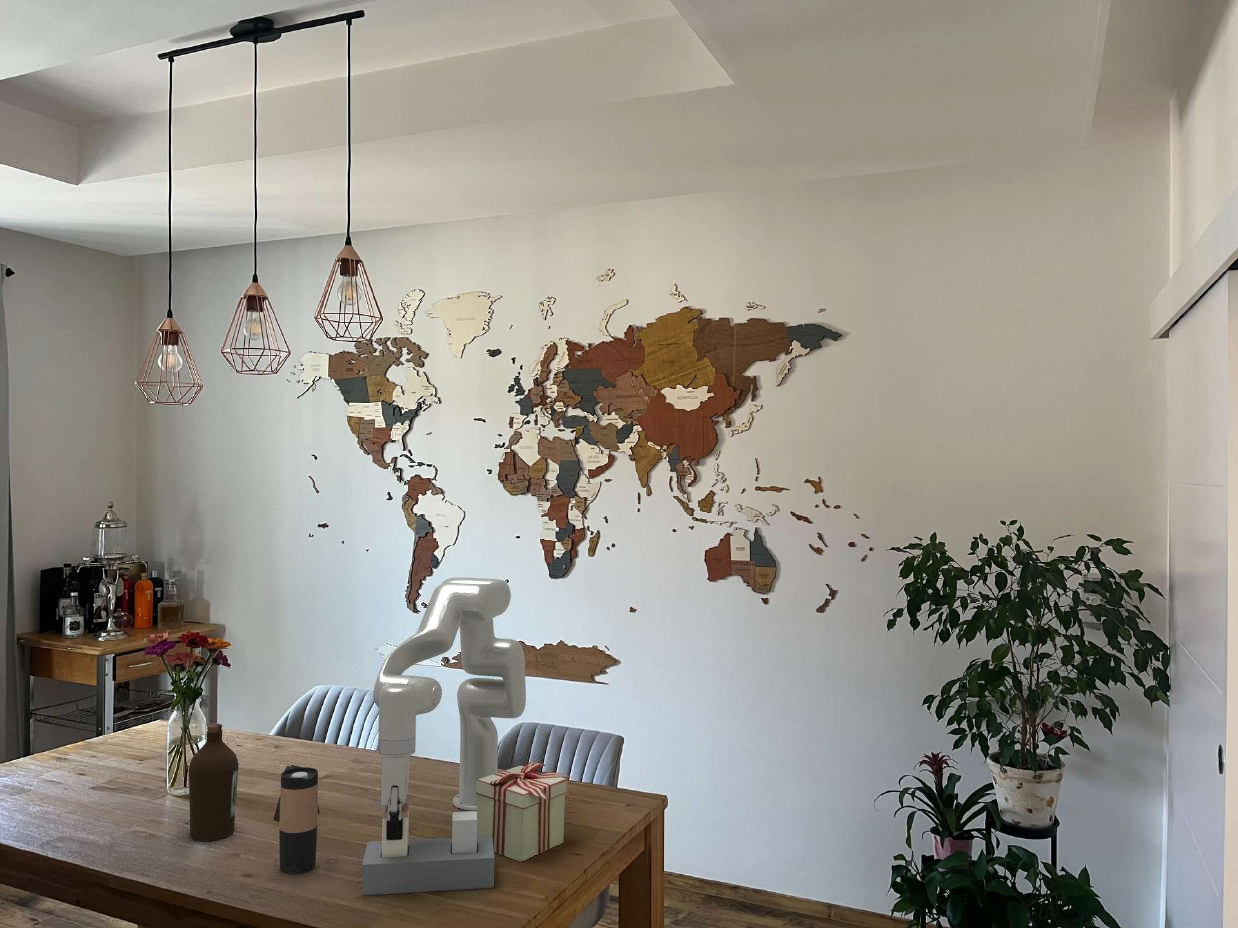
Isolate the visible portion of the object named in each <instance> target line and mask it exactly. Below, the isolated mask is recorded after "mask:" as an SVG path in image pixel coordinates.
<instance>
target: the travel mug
mask: <svg viewBox="0 0 1238 928" xmlns="http://www.w3.org/2000/svg"><path fill="white" fill-rule="evenodd" d="M279 794H280V795H279V797H280V821H279V827H278V828H279V829H278V831H279V870H280V872H282V873H283V874H287V875H300V874H304V873H308V872H310V871H312V870H314V869H315V867H316V860H317V859H316V858H317V841H318V839H317V837H318V818H319V817H318V816H319V814H318V807H319V804H318V803H319V800H318V799H319V798H318V796H319V771H318V769H316V768H314V767H309V766H308V767H307V766H303V767H302V766H299V768H292V769H288V770H286V771H285V770H283V772H281V774H280V793H279Z"/></svg>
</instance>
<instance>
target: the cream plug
mask: <svg viewBox="0 0 1238 928" xmlns="http://www.w3.org/2000/svg"><path fill="white" fill-rule="evenodd" d="M382 807H383V806H382ZM397 810H399V807H397ZM381 814H382V815H381V819H382V820H381V821H382V823H381V825H382V827H381V830H382V831H381V841H382V857H399V856H408V840H409V830H410V829H409V823H410V802H405V804H404V805H403V806H402V819H403V838H402V839H401V840H387V839H386V825H387V820H388V803H387V805H384V807H383V809H382V813H381Z"/></svg>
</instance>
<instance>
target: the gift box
mask: <svg viewBox="0 0 1238 928" xmlns="http://www.w3.org/2000/svg"><path fill="white" fill-rule="evenodd" d="M545 766H546V764H544V763H540V762H532V761H530V762H528V763H527V764H526V765H525V766H523V765H517V766H514V767H512V768H508V769H506V770H502V771H500V772H497V773H496V774H493V775H490V776H487V777H484V778H481V779H478V780H476V794H477V836H492V839H493V849H494V854H495V853H496V854H499V855H501V856H504V857H507V858H509V859H512V860H514V861H517V862H520V863H523V862H525V861H527V860H529V858H530V859H532V858H534V857H535V856H534V855H537V854H539V855H541V854H543V853H544V852H543V851H545V850H548V851H549V849H550V848H552V847H554V846H556V845H559V846H560V844H561V843H563V844H564V835H565V834H564V833H565V805H566V803H565V801H566V793H567V792H568V779H567V778H571V776H569V775H564V774H562V773H559V772H554V771H541V770H538V769H540V768H542V767H545ZM561 845H562V844H561ZM556 847H557V846H556ZM554 848H555V847H554ZM552 849H553V848H552ZM550 850H551V849H550ZM542 852H543V853H542ZM545 852H546V851H545ZM540 853H541V854H540ZM533 856H534V857H533ZM537 856H538V855H537ZM531 857H532V858H531ZM522 861H523V862H522Z"/></svg>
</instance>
